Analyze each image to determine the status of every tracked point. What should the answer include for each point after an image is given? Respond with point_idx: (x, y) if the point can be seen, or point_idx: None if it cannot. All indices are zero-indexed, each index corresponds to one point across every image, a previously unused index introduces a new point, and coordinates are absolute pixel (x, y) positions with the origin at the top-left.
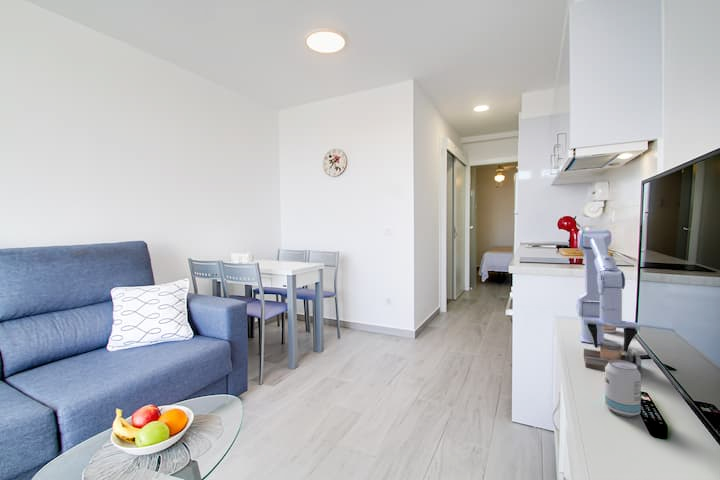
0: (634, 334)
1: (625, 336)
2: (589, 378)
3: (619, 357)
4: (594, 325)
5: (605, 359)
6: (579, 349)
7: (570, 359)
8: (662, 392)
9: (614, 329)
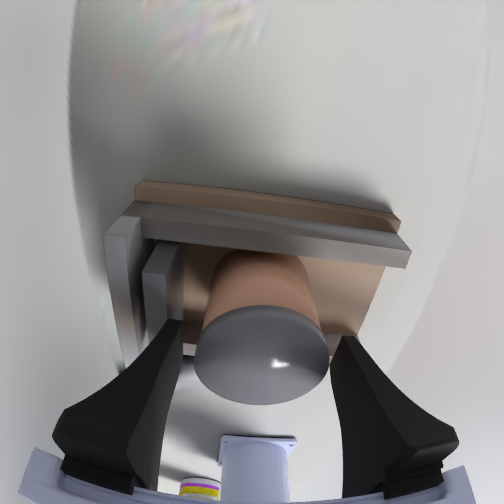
0: (67, 414)
1: (152, 419)
2: (419, 69)
3: (220, 284)
4: (402, 486)
5: (307, 253)
6: (330, 393)
7: (419, 289)
8: (106, 17)
9: (184, 485)
